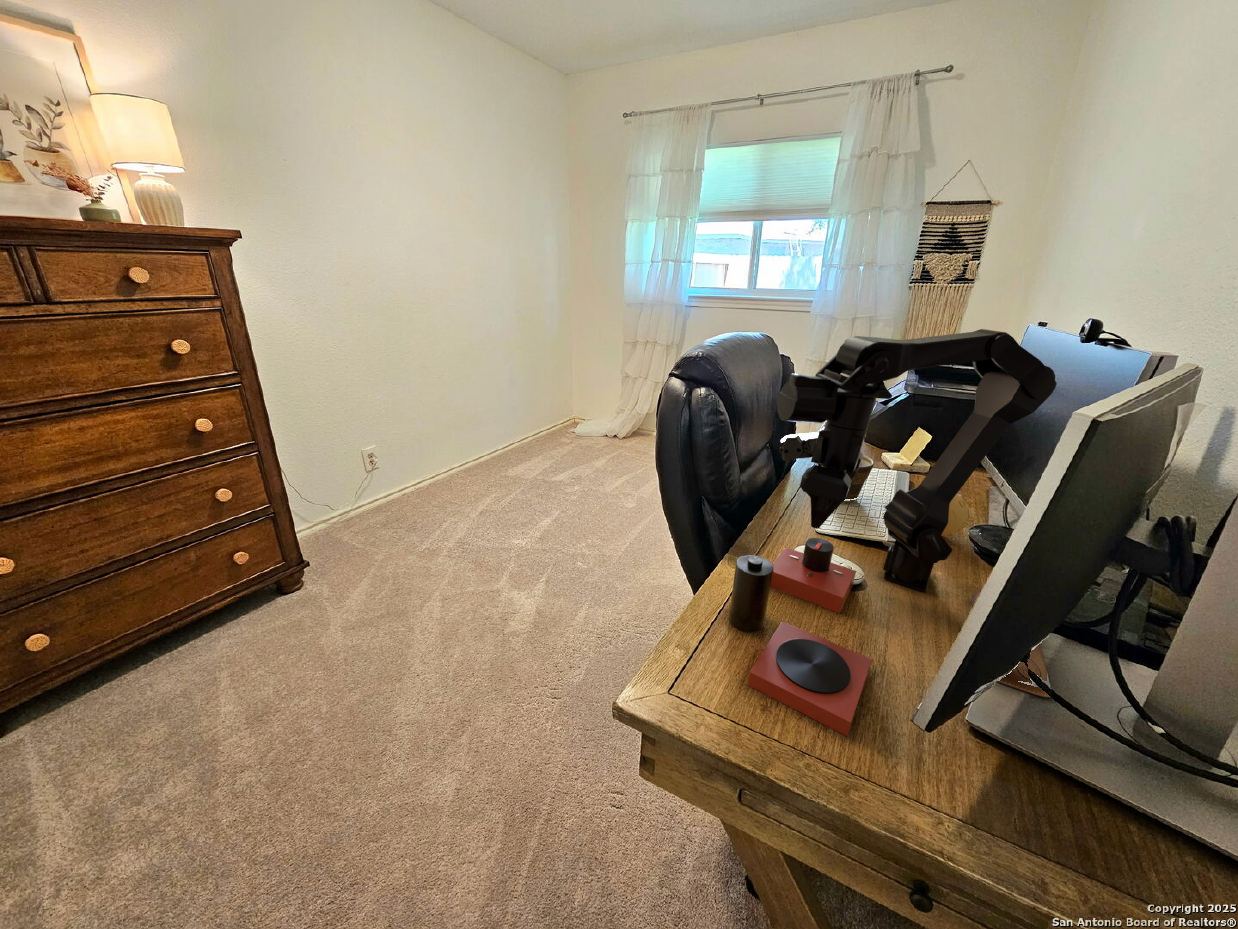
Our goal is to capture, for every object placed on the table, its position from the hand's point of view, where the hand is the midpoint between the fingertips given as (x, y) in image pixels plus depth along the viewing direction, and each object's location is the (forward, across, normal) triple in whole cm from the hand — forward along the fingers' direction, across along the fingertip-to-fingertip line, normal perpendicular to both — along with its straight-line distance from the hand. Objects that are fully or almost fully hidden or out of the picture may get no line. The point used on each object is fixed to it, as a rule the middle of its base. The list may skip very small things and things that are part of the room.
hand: (820, 516), depth 77 cm
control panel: (+13, 0, +1) cm, 13 cm away
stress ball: (+10, -32, +19) cm, 39 cm away
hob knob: (+9, -2, +1) cm, 10 cm away
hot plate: (+13, +21, +6) cm, 26 cm away
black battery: (+14, +15, -5) cm, 21 cm away
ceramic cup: (+11, -38, 0) cm, 40 cm away
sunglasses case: (+11, 0, +28) cm, 30 cm away
